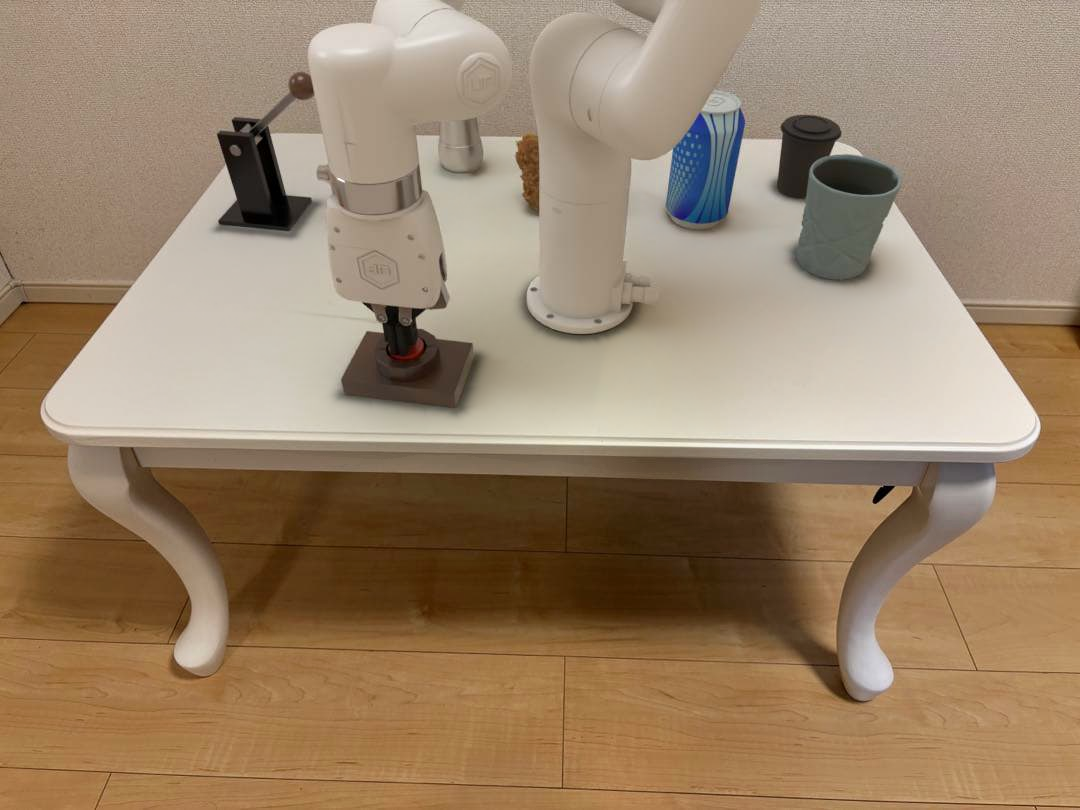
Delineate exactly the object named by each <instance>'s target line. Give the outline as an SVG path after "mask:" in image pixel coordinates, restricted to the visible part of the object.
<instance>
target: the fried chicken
mask: <svg viewBox="0 0 1080 810" xmlns="http://www.w3.org/2000/svg"><path fill="white" fill-rule="evenodd" d="M515 144H516V148H517V151H515V155H514V157H515V162H516V164H517V166H518V168H519V170H521V174H520V175H519V177H520V179H521V181H523V182H522V185H523V186H522V188H523V189H522V190H523V192H522V194H521V196H523V197H522V198H523V199H524V201H525V202H526V203H527V204H528V206H529V207H530V208H531V209H534V210H535V211H536V212H537V213H539V144H538V134H536V135H535V134H532V133H525V134H524V135H522V138H521V140H520V139H519V140H515Z"/></svg>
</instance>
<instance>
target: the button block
mask: <svg viewBox="0 0 1080 810" xmlns="http://www.w3.org/2000/svg"><path fill="white" fill-rule="evenodd" d="M417 331H418V337H419V338H420V339H421V340H422V341H423V344H424V351H425V352H424V354H423V355H421V356H420V357H418V358H417V359H413V360H409V361H400V360H394V359H392V358H391V357H390V354H389V342H386V341H385V337H384V332H380V331H369V330H366V331H365V334H364V335H363V337H362V339H361V341H360V343H359V345H358V346H357V348H356V350H355V352H354V354H353V356H352V358H351V360H350V361H349V363H348V365H347V367H346V369H345V371H344V372H343V375H342V376H341V379H340V382H341V386H342V389H343V393H344V395H346V396H347V395H348V396H353V397H354V396H355V397H362V398H370V399H378V400H387V401H394V402H401V403H409V404H410V403H412V404H418V405H427V406H434V407H440V408H441V407H443V408H449V409H456V408H457V406H458V403H459V402H460V398H461V395H462V392H463V390H464V387H465V384H466V381H467V379H468V376H469V373H470V370H471V368H472V365H473V362H474V359H475V353H474V352H475V351H474V343H473V342H469V341H459V340H452V339H451V340H449V339H442V338H436V336H435V335H434V334H432V333H430V332H428V331H427V330H426V329H424V328H417Z"/></svg>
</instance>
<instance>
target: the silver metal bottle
mask: <svg viewBox="0 0 1080 810" xmlns="http://www.w3.org/2000/svg"><path fill="white" fill-rule="evenodd" d="M438 128H439V129H438V134H439V135H438V136H439V137H438V144H437V145H438V146H437V147H438V148H437V150H438V151H437V154H438V157H439V160H440V163H441V165H442V166H443V167H444V169H446V170H447V171H449V172H452V173H458V174H461V173H463V174H465V173H471V172H474V171H476V170H478V169H479V168H480V167H481V164H482V163H483V161H484V146H483V142H482V138H481V135H480V130H479V129H480V128H479V123H478V117H475V118H472V119H467V120H460V121H445V122H438Z"/></svg>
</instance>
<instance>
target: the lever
mask: <svg viewBox="0 0 1080 810" xmlns="http://www.w3.org/2000/svg"><path fill="white" fill-rule="evenodd" d="M287 84H288V85H287V86H288V87H287V88H288V90H289V91H288V93H287V94H286V95H285V96H283V98H281V99H280V100H279V102H277V103H276V104H275V105H273V107H272V108H271V109H270V110H269V111H268V112H267V113H266V114H265V115H264V116H263V117H262V118H260V119H261V120H260V121H259V122H258V123H257V124H256V125H255V126H254V127H252V126H251V125H250V124H249V123H248V124H247V125H246V126H245V127H244V128H243V129H242V130H240V131H239V132H243V133H253V135H254V139H255V143H256V145H257V144H258V143H259V142H260V141H261V140H262V139H263V138H262V137H261V135H260V134H259V133H260V132H262V131H263V130H264V129H265V128H266V127H267V126H268V127H269V125H270V124H271V123H272V122H273V121H274V120H276V119H277V118H278V117H279V115H281V114H282V113H283V112H284V111H285V110H286V109H288V107H289V106H290V105H292V103H293V102H294V101H295V100H298V101H304V102H305V101H309V100H311V99H312V98H313V97H315V94H314V89H313V84H312V79H311V74H310V73H308V72H306V71H296V72H294V73H292V74H291V76H290V77H289V79H288V81H287Z"/></svg>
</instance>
